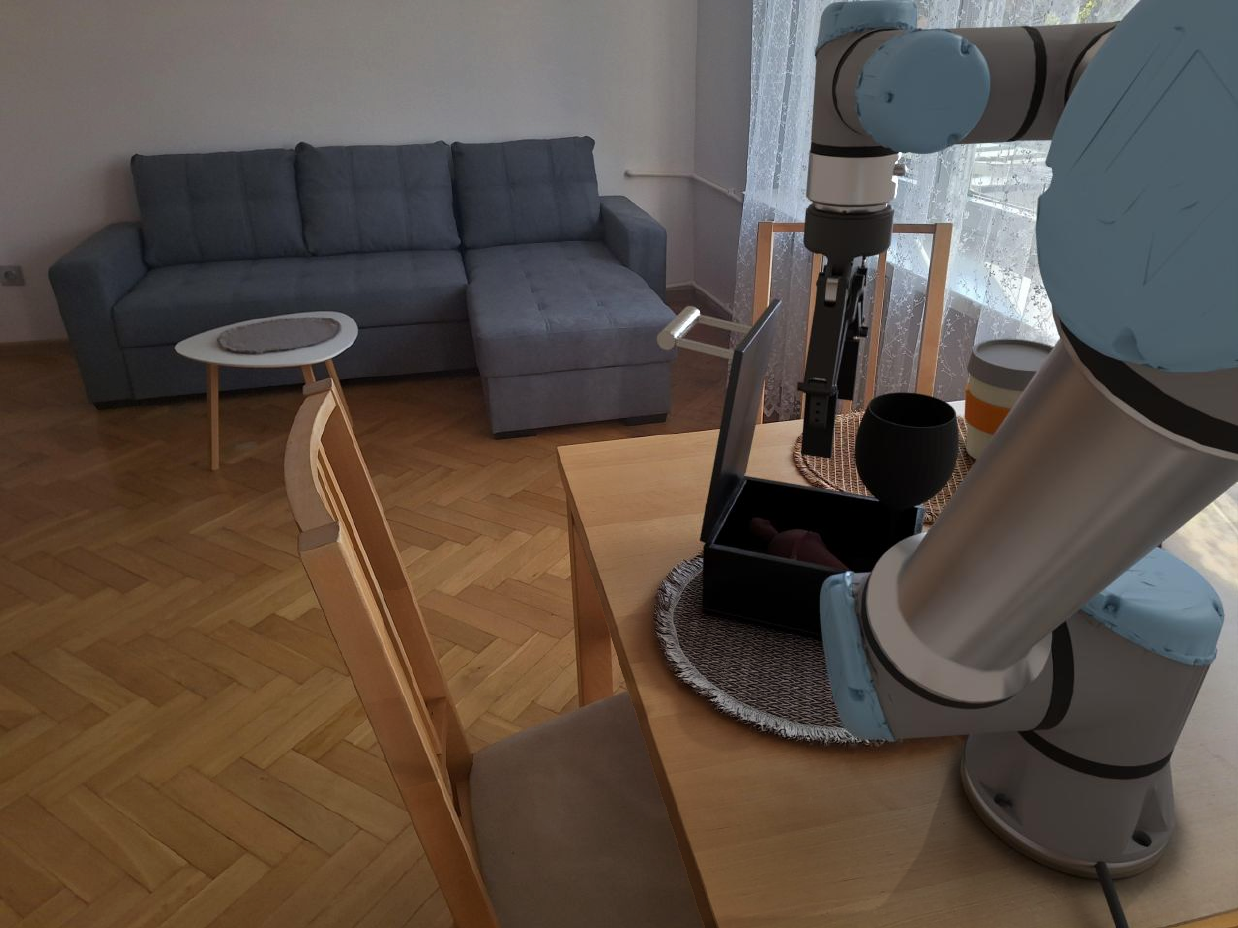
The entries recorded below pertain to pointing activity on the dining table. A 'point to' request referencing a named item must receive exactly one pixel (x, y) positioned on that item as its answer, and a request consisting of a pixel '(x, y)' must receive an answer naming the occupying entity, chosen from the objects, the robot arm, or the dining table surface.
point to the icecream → (793, 544)
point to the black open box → (783, 585)
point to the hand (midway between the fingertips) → (828, 424)
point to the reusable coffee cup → (997, 384)
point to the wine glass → (904, 454)
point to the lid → (730, 398)
